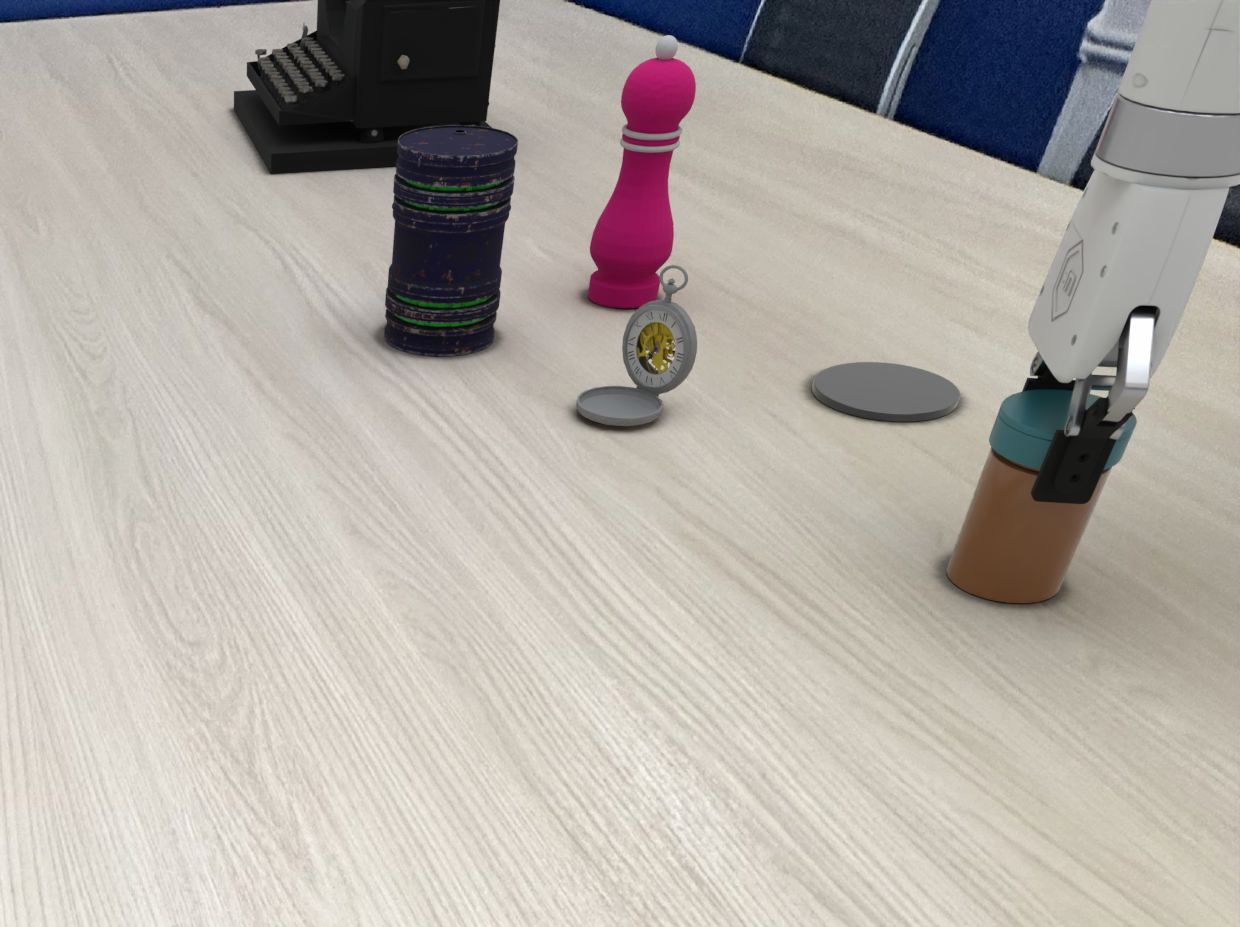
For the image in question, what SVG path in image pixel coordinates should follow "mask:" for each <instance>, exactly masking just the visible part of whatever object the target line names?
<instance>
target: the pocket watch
mask: <svg viewBox="0 0 1240 927" xmlns="http://www.w3.org/2000/svg"><path fill="white" fill-rule="evenodd" d="M671 269H675V270H676V269H677V270H679V271H680V272H681V273H682V275H683V276H684V281H683V283H682V284H681V285H679V286H678V287H677V285H676V284H675V283H676V280H675V279H674V278H670V279H668V280H667V283H665V281H664V274H665V273H666V272H667V271H668V270H671ZM659 279H660V285H661V287H662V291H663V292H664V293H665V295H664V299H656V301H651V302H648V303H646V304H644V305H643V306H641V307H639V308H637V309H636V311H634V312H632V314H631V316H630V318H629V320H628V322H627V323H626V326H625V330H624V332H623V337H622V346H621V350H622V351H621V352H622V359H623V361H622V362H623V364H624V366H625V369H626V373H627V374H628V376H629V378H630V380H631V381H632V382H633V383H634V385H635V386H636V387H632V386H624V385H604V386H597V387H592V388H589V389H586V390H583V391H582V392H580V393H579V395H577V398H576V402H575V407H576V409H577V411H578V412H579V414H580V415H581V416H582V417H584V418H585V419H588V420H590V421H592V422H596V423H599V424H602V425H606V426H616V427H631V426H639V425H640V426H641V425H645V424H649V423H652V422H653V421H655V420H657V419H659V417H661V414H662V413H663V411H664V401H663V400H662V399H661V398H660V395H662V394H666V393H669V392H671V391H673V390H675V389H676V388H678V387H679V386H681V385H682V383H683V382H684V381H685V380H686V379H687V378H688V376H689V375H690V373H691V371H692V370H693V368H694V365H695V362H696V358H697V354H698V335H697V332H696V327H695V325H694V322H693V320H692V318H691V316H690V314H689V313H688V312H687V311H686V310H685V309H684V308H683V307H682V306H681V305H679V304H678V303H676V302H674V301H672V297H673V295H675V294H676V293H677V292H678V291H681V290H683V289H685V287H686V286H687V285H688V282H689V274H688V273H687V271H686V269H685V268H683V267H682V266H680V265H678V264H677V265H675V264H672V265H667V266H665V267H664V268H662V270H661V271H660V273H659ZM674 349H675V350H674ZM646 351H648V352H646ZM670 358H673V360H672V359H670ZM649 360H651V363H650V361H649ZM664 361H665V362H664ZM668 363H669V365H668ZM661 367H664V368H661Z"/></svg>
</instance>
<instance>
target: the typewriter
mask: <svg viewBox="0 0 1240 927" xmlns="http://www.w3.org/2000/svg"><path fill="white" fill-rule="evenodd" d="M500 4H501V0H317V5H316V6H317V10H316V30H315V31H313V32H311V33H309V27H308V25H305V22H303V25H302V35H301V38H299V39H297V40H295V41H294V42H293V41H292V42H291V43H290V42H289V43H287V44H286V46H284V47H282V48H272V50H271V53H270V54H268V55H267V52H268V51H267V50H268V48H258V49H255V51H254V55H256V56H257V57H256V58H257V60H255V61H247V62H246V78H247V79H248V80H249V82H250V84H251V85H252V86H253V88H254V89H248V90H247V89H245V90H234V91H233V110H234V112H235V115H236V116H237V118H238V119H239V121H240V123H241V124H242V126H243V128H244V130H245V132H246V133H247V135H248V137H249V138H250V140H251V142H252V144H253V146H254V147H255V149H256V150H257V152H258V154H259V156H260V158H261V159H262V161H263V163H264V164H265V166H266V168H267V170H268V171H269V173H270V174H271V175H274V174H275V175H276V174H277V175H278V174H291V173H292V174H293V173H309V172H324V171H327V172H328V171H342V170H357V169H358V170H359V169H375V168H390V167H396V161H397V158H398V157H399V154H398V153H397V147H398V138H399V137H400V136H401V135H402V134H404V133H406V132H409V131H412V130H416V129H420V128H425V127H432V126H444V125H470V126H482V127H489V128H493V127H492V126H491V125H490V124H489V123H488V122H487V120H488V119H487V118H488V111H489V110H488V109H489V105H490V92H491V84H492V77H493V76H492V75H493V68H494V67H493V66H494V58H495V51H496V50H495V49H496V47H497V45H496V41H497V32H498V23H499V15H500V14H499V13H500V6H501V5H500ZM265 55H266V56H265ZM261 56H264V57H261Z"/></svg>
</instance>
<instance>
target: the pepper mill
mask: <svg viewBox="0 0 1240 927" xmlns="http://www.w3.org/2000/svg"><path fill="white" fill-rule="evenodd" d="M678 49H679V43H678V39H677V38H676V37H675V36H673V35H669V34H667V35H664V36H662V37H661V38H659V40H658V41H657V42H656V45H655V51H654V52H655V56H656V57H653V58H649V59H647V60H645V61H643V62H641V63H639V64H637V66H635V67H634V68H633V69H632V71H630V73H629V75H628V76H627V78H626V80H625V81H624V82H625V83H624V85H623V88H622V92H621V95H620V96H621V98H620V107H621V111H622V113H623V115H624V116H625V119H626V121H627V122H626V123H625V124H624V125H623V126H622V128H621V133H622V134H621V138H620V139H619V145H620V146H621V148H623V150H622V151H623V152H622V158H621V159H622V160H621V165H620V170H619V174H618V179H617V182H616V184H615V187H614V189H613V192H612V193H611V195H610V198H609V200H608V201H607V203H606V205H605V207H604V209H603V210H602V212H601V214H600V216H599V218H598V219H597V221H596V224H595V227H594V229H593V231H592V234H591V240H590V244H589V254H590V257H591V259H592V261H593V263H594V265H595V267H596V268H597V270H595V271H593V273H591V274H590V277H589V283H588V290H587V297H588V299H589V300H590V301H591V302H593V304H594V303H595V304H597V305H599V306H603V307H606V308H615V309H624V310H625V309H639V308H640V307H641V306H643V305H644V304H646V303H648V302H651V301H656V300H658V295H659V291H660V285H661V283H660V279H659V276H660V274H657V272H658V271H659V270H660V269H661V268H662V267H663V266H664V265H665V264H666V263H667V262H668V260H669V259H670V257H671V256H672V252H673V247H674V240H675V239H674V238H675V232H674V231H675V229H674V219H673V214H672V208H671V207H672V206H671V203H670V194H669V175H670V167H671V162H672V159H673V154H674V150H676V149H677V148H679V147H680V145H681V141H680V138H681V137H680V136H681V135H682V134H683V128H682V127H681V126H680V123H681V122H682V121H683V119H685V117H687V115H688V114H689V112H690V111H691V109H692V107H693V105H694V102H695V99H696V93H697V92H696V91H697V83H696V78H695V74H694V72H693V71H692V70H693V69H691V67H690V66H689V65H688V64H687V63H686V62H684V61H682V60H680V59H677V58H674V57H675V56H676V54H677V52H678Z"/></svg>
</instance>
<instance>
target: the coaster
mask: <svg viewBox="0 0 1240 927" xmlns="http://www.w3.org/2000/svg"><path fill="white" fill-rule="evenodd" d="M811 384H812V385H811V391H812V394H813V396H814V397H815V398H816V399H817V400H818V401H820V403H822V404H824V405H825V406H827V407H829V408H831V409H833V410H835V411H838V412H842V413H843V414H846V415H851V416H855V417H859V418H863V419H869V420H876V421H883V422H898V423H899V422H900V423H901V422H902V423H903V422H909V423H910V422H919V421H920V422H921V421H928V420H934V419H938V418H942V417H944V416H946V415H949V414H950V413H952V412H953V411H954V410H955V409H956V408H957V407H958V405H959V401H960V399H961V393H960V392H961V391H960V389H959V388H958V386H956V385H955V383H953V382H952V381H950V380H949V379H947V378H945V377H944V376H941V375H939V374H936V373H935V372H932V371H929V370H926V369H924V368H923V369H922V368H919V367H916V366H910V365H905V364H900V363H899V364H898V363H893V362H892V363H891V362H880V361H858V362H848V363H840V364H836V365H832V366H829V367H826V368H824V369H822V370H820V371H819V372H818V373H816V375H815V376H814V378H813V381H812V383H811Z"/></svg>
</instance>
